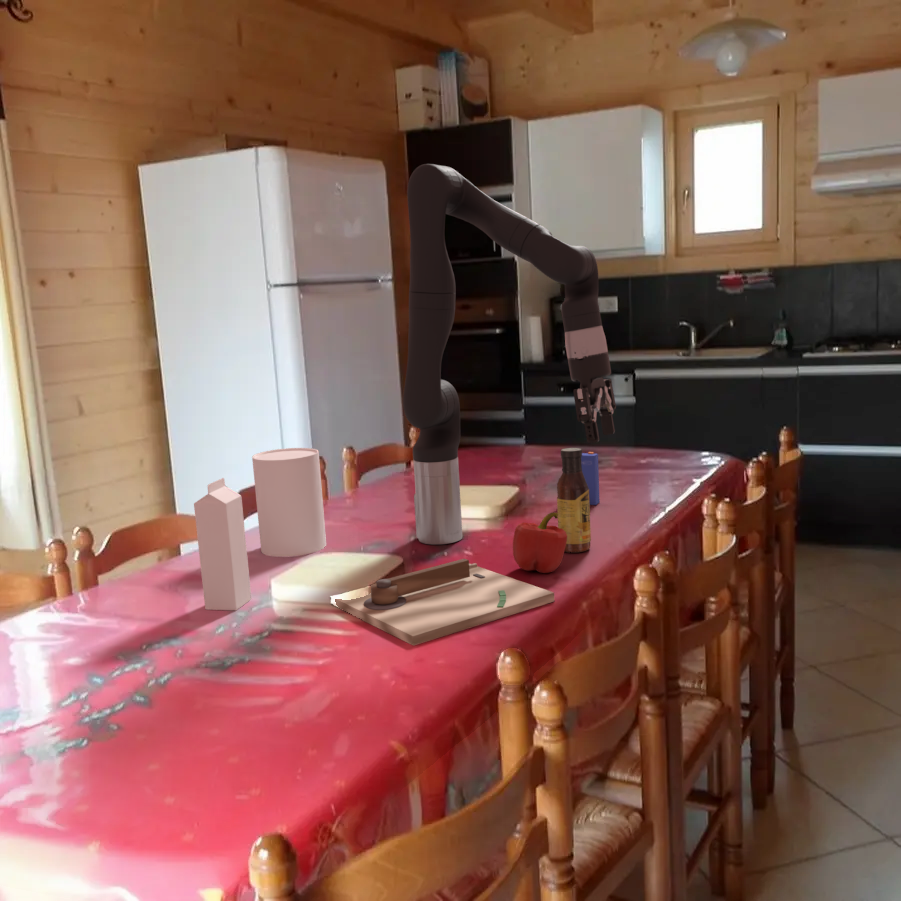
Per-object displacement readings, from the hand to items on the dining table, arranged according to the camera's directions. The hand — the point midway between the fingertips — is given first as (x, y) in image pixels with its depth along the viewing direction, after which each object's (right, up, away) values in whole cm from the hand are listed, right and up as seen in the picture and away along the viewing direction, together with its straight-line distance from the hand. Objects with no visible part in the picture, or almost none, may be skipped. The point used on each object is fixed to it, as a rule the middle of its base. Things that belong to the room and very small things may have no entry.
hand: (601, 438), depth 183 cm
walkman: (+2, -15, +44) cm, 47 cm away
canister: (-61, -23, +21) cm, 69 cm away
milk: (-67, -29, -13) cm, 74 cm away
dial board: (-30, -28, -19) cm, 45 cm away
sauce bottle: (-4, -22, +7) cm, 23 cm away
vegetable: (-12, -24, -4) cm, 27 cm away
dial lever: (-32, -26, -17) cm, 45 cm away
